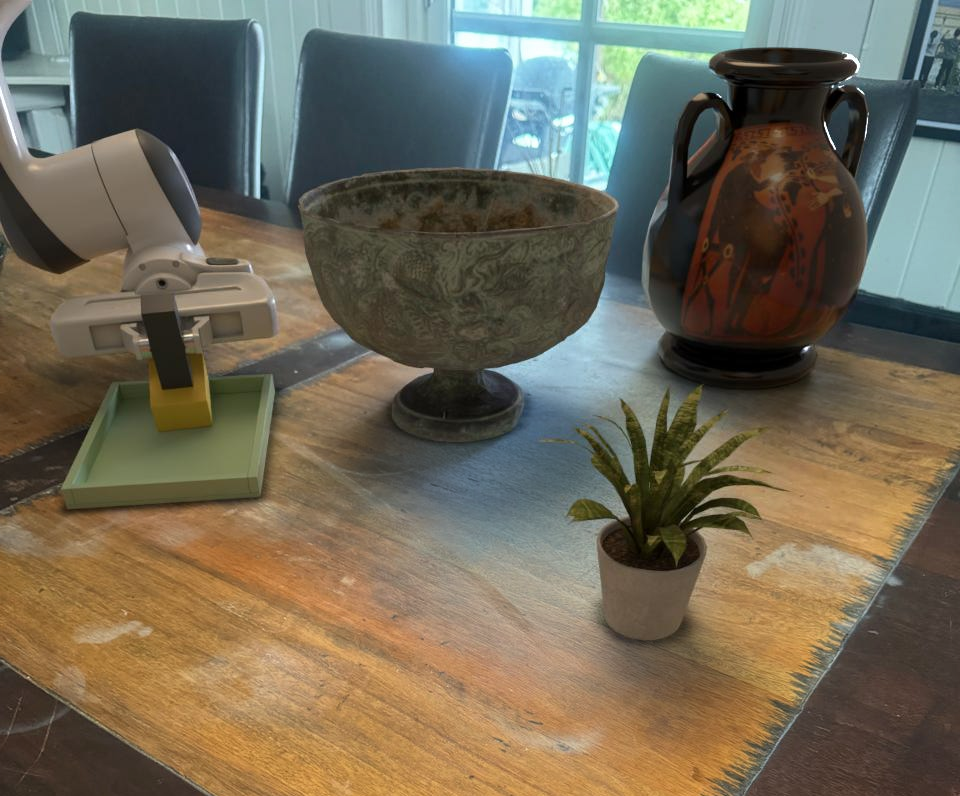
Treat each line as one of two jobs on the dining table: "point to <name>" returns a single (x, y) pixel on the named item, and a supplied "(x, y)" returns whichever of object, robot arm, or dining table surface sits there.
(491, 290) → the decorative bowl
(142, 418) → the tray
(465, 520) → the dining table surface
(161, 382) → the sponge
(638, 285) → the dining table surface
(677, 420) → the house plant
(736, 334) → the amphora vase
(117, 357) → the dining table surface
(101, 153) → the robot arm
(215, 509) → the dining table surface
